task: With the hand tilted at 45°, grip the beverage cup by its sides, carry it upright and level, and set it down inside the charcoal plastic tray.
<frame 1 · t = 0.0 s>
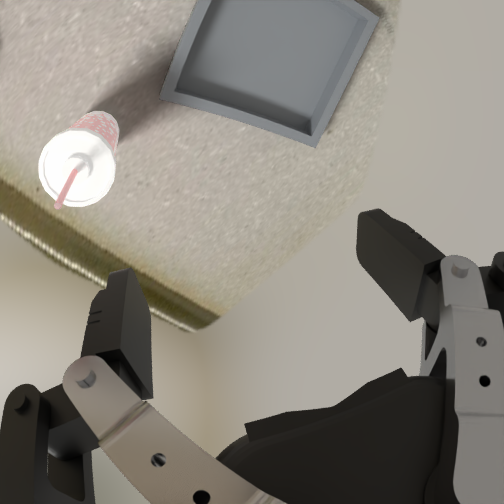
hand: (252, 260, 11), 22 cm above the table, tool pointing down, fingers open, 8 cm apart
beverage cup: (97, 132, 26), on the table
tray: (269, 44, 25), on the table
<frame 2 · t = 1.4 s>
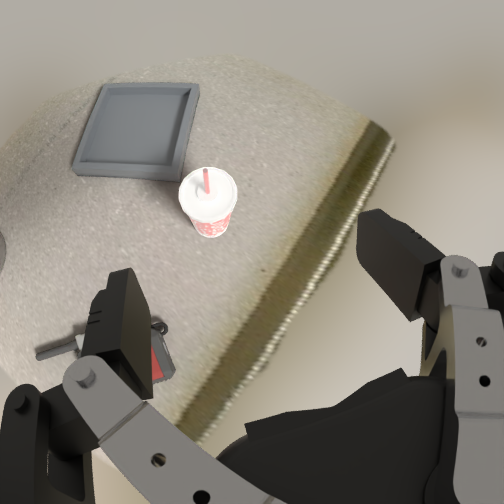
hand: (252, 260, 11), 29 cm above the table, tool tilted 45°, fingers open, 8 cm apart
beverage cup: (211, 220, 41), on the table
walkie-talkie: (106, 362, 36), on the table
tray: (138, 131, 43), on the table
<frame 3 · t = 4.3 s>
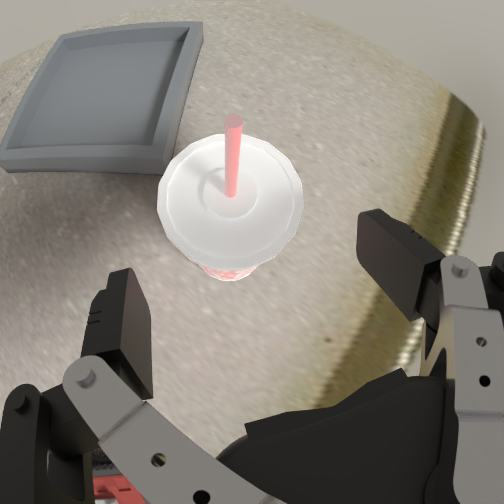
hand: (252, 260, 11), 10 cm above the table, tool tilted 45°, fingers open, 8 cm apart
beverage cup: (228, 248, 22), on the table
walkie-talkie: (69, 482, 17), on the table
tray: (103, 95, 24), on the table
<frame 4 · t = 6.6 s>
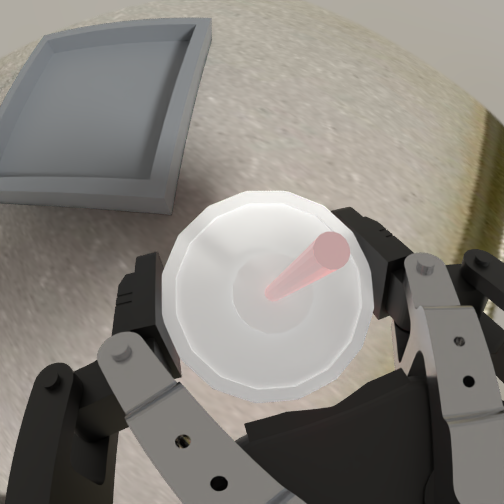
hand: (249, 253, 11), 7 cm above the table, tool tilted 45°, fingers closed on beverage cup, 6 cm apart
beverage cup: (248, 310, 17), on the table, touching gripper
tray: (91, 108, 20), on the table
when the fingers open (9 cm above the table, at t = 13.2 s): beverage cup drops 1 cm, resting on tray.
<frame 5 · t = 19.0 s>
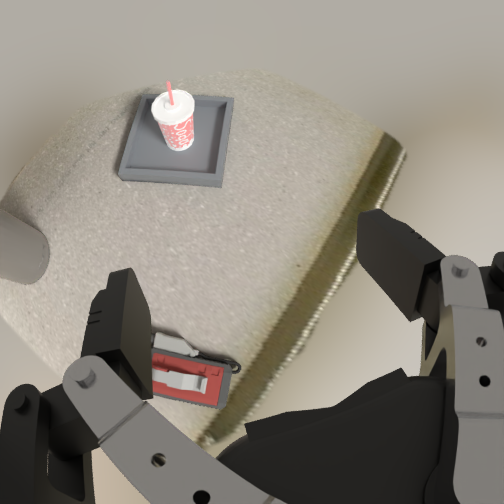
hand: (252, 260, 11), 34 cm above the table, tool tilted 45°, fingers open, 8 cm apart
beverage cup: (180, 139, 48), resting on tray
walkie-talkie: (168, 364, 41), on the table
tray: (179, 140, 49), on the table
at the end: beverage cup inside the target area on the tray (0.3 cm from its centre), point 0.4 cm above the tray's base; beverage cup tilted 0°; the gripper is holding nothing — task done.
